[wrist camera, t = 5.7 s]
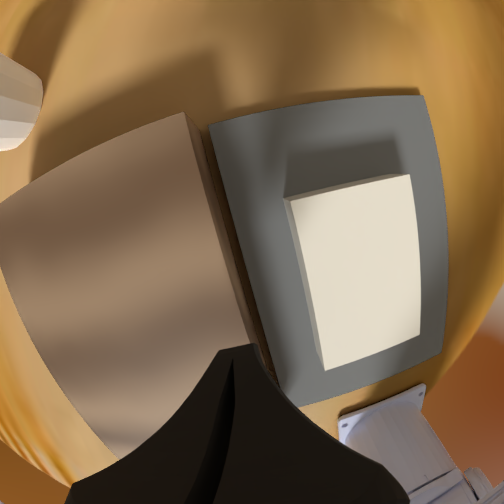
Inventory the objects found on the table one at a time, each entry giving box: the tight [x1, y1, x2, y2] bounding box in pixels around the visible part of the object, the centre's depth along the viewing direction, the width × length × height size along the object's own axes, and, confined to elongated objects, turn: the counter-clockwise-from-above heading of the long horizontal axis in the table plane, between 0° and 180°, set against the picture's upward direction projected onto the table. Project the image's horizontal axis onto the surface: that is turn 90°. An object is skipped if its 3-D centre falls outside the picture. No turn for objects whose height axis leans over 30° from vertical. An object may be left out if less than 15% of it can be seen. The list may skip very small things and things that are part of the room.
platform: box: [0, 112, 267, 459], centre depth 13 cm, size 18×12×4 cm, turn 14°
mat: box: [208, 95, 448, 408], centre depth 14 cm, size 18×12×1 cm
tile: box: [283, 174, 421, 371], centre depth 13 cm, size 9×6×2 cm, turn 15°
